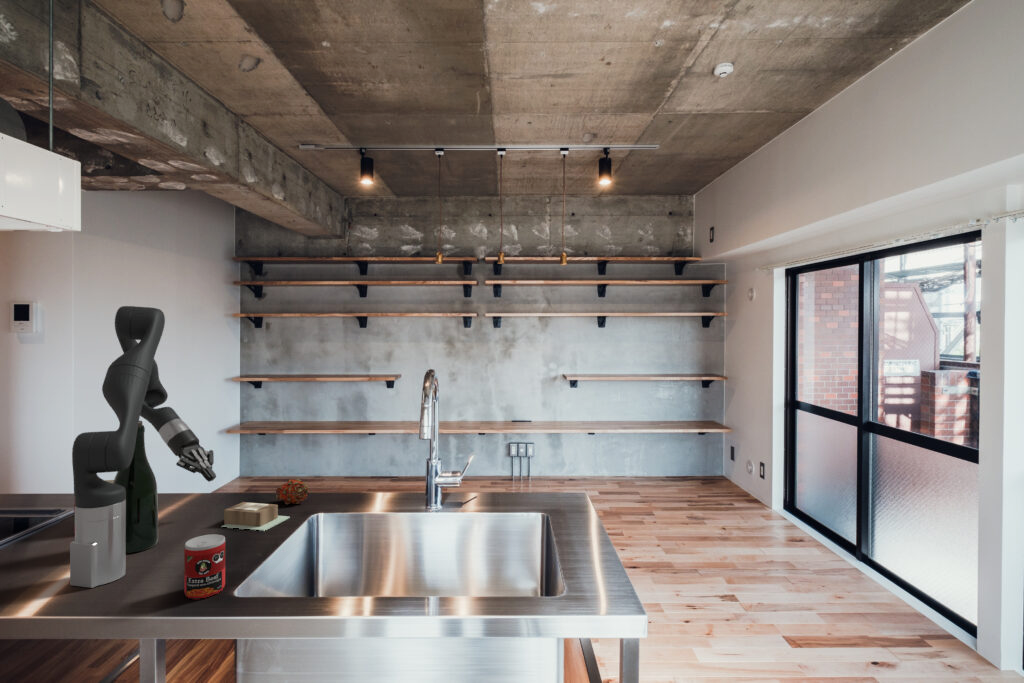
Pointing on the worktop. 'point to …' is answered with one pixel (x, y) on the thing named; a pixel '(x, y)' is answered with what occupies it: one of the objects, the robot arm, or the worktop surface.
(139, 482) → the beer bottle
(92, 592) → the worktop surface
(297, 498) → the dragon fruit
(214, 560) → the canned food
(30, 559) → the worktop surface
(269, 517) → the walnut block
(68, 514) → the worktop surface
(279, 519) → the mat
